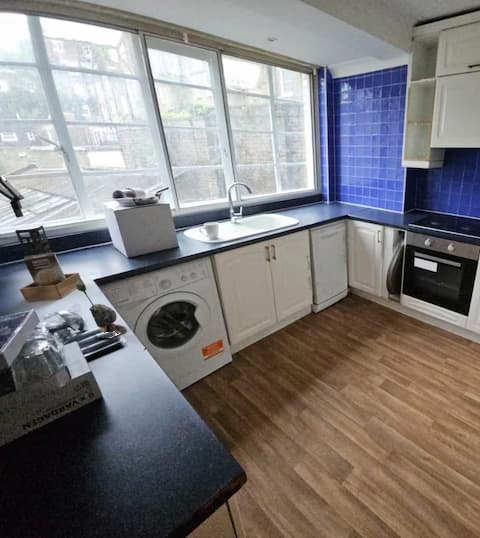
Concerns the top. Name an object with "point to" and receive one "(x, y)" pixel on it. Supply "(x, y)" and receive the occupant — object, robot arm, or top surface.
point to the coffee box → (44, 269)
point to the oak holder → (50, 289)
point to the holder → (34, 241)
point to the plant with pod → (102, 314)
